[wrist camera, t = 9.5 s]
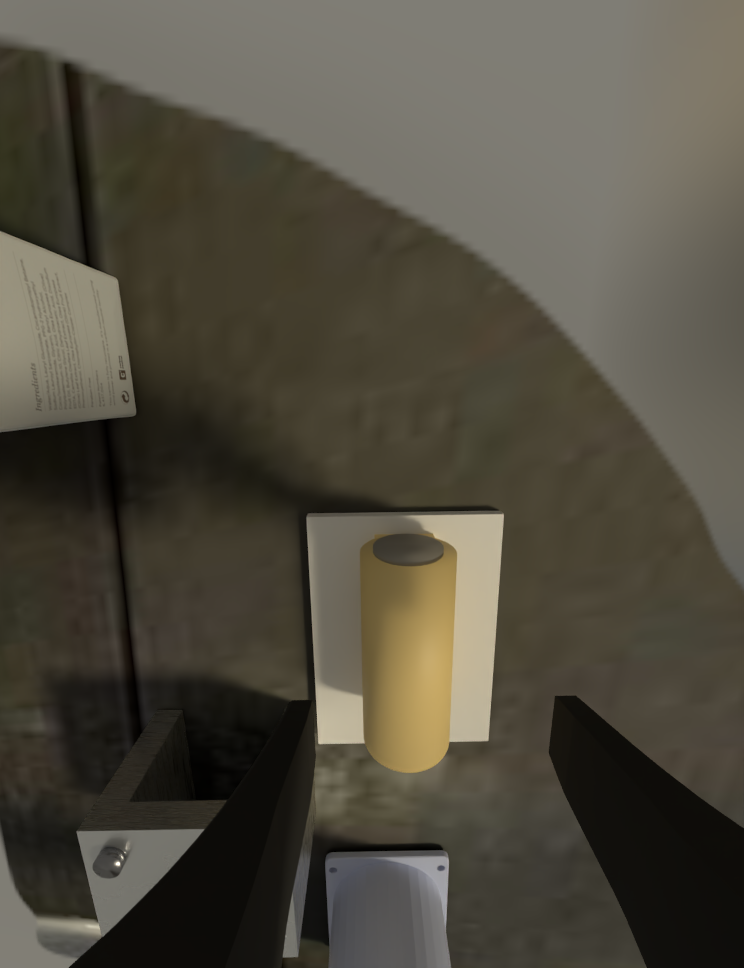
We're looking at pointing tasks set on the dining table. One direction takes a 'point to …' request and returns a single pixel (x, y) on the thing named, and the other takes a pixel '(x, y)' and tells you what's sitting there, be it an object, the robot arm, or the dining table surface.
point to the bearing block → (159, 826)
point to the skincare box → (59, 341)
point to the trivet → (340, 613)
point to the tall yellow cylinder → (407, 648)
